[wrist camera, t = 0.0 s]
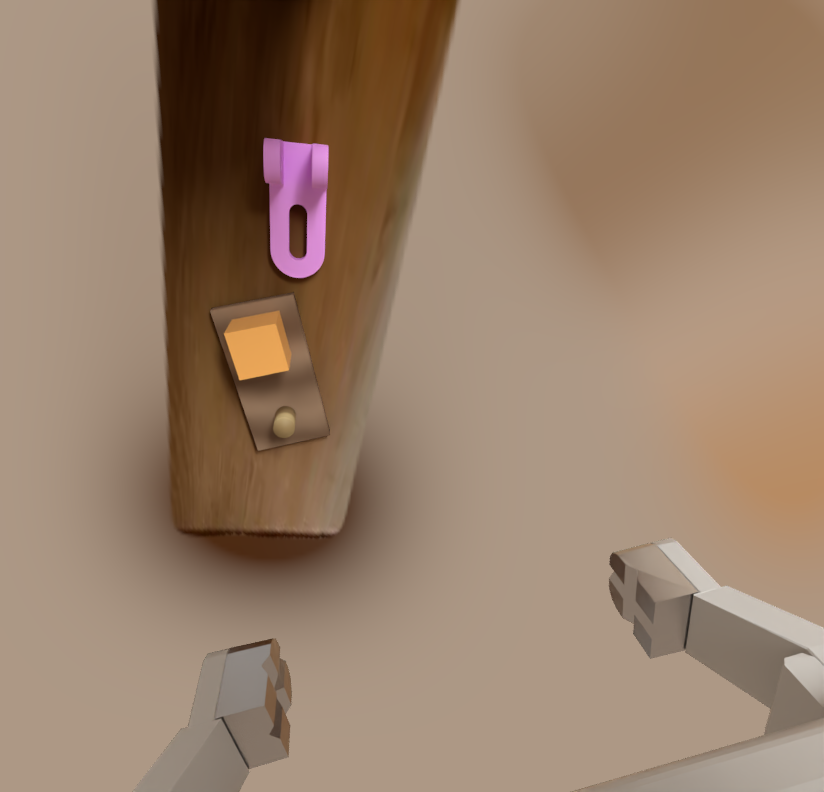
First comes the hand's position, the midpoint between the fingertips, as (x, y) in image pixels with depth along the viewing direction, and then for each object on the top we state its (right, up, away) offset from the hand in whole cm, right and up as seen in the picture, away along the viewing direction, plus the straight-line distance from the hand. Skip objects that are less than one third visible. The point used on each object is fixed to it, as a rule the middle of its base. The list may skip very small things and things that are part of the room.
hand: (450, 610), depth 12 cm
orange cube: (-18, +12, +44) cm, 48 cm away
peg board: (-17, +8, +47) cm, 51 cm away
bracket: (-13, +24, +40) cm, 49 cm away
